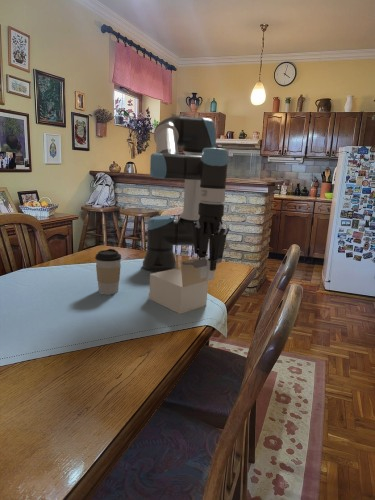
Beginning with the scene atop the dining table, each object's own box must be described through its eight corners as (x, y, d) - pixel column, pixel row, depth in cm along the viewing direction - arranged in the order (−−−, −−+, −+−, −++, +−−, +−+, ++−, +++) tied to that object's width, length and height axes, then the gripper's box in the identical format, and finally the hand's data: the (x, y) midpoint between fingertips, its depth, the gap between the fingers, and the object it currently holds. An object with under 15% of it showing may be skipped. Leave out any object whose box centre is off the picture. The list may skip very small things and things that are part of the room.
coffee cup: (115, 297, 124) (115, 255, 120) (91, 293, 125) (90, 252, 122) (124, 288, 132) (125, 249, 129) (102, 285, 134) (101, 247, 131)
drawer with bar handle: (205, 255, 117) (222, 255, 112) (207, 280, 118) (224, 282, 112) (180, 260, 110) (197, 260, 104) (182, 286, 111) (199, 288, 105)
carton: (174, 291, 132) (175, 267, 130) (206, 305, 121) (208, 280, 118) (148, 298, 124) (148, 273, 122) (180, 314, 112) (181, 287, 110)
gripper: (184, 200, 107) (180, 274, 113) (222, 206, 97) (216, 288, 102) (202, 199, 112) (197, 270, 118) (240, 205, 102) (233, 283, 107)
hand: (206, 278), depth 110 cm, fingers closed on drawer with bar handle, 2 cm apart
